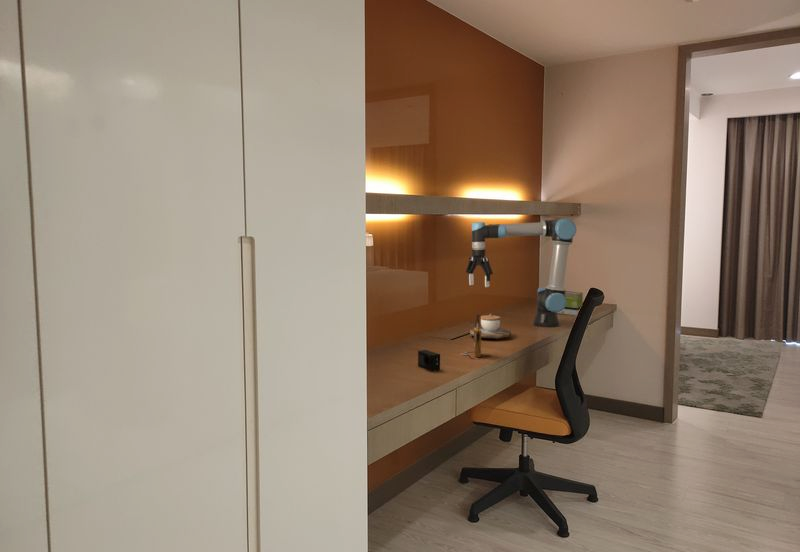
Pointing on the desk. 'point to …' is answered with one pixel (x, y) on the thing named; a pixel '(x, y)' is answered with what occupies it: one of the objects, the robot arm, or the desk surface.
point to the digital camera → (429, 360)
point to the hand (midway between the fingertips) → (479, 285)
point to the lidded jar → (490, 322)
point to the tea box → (572, 303)
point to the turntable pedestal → (490, 338)
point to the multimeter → (476, 341)
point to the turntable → (493, 333)
